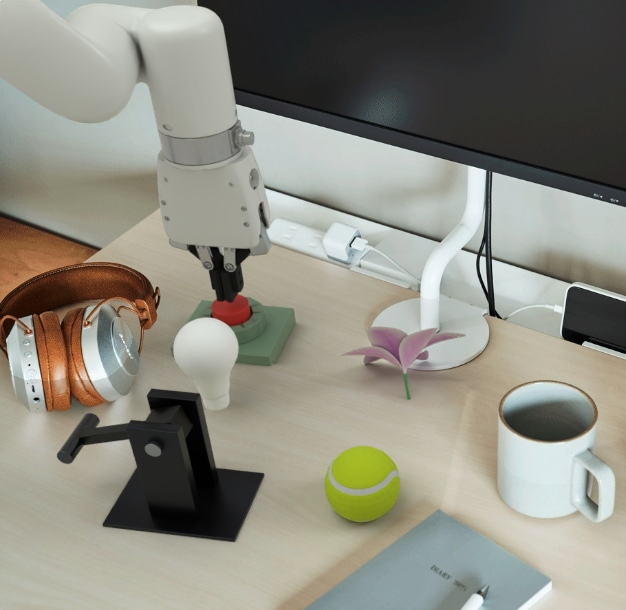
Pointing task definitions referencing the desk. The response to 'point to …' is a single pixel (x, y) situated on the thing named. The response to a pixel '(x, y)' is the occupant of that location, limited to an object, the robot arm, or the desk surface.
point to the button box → (257, 331)
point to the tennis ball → (362, 484)
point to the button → (232, 311)
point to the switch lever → (115, 430)
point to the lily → (400, 346)
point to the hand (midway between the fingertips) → (229, 294)
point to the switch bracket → (181, 479)
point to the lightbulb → (207, 358)
